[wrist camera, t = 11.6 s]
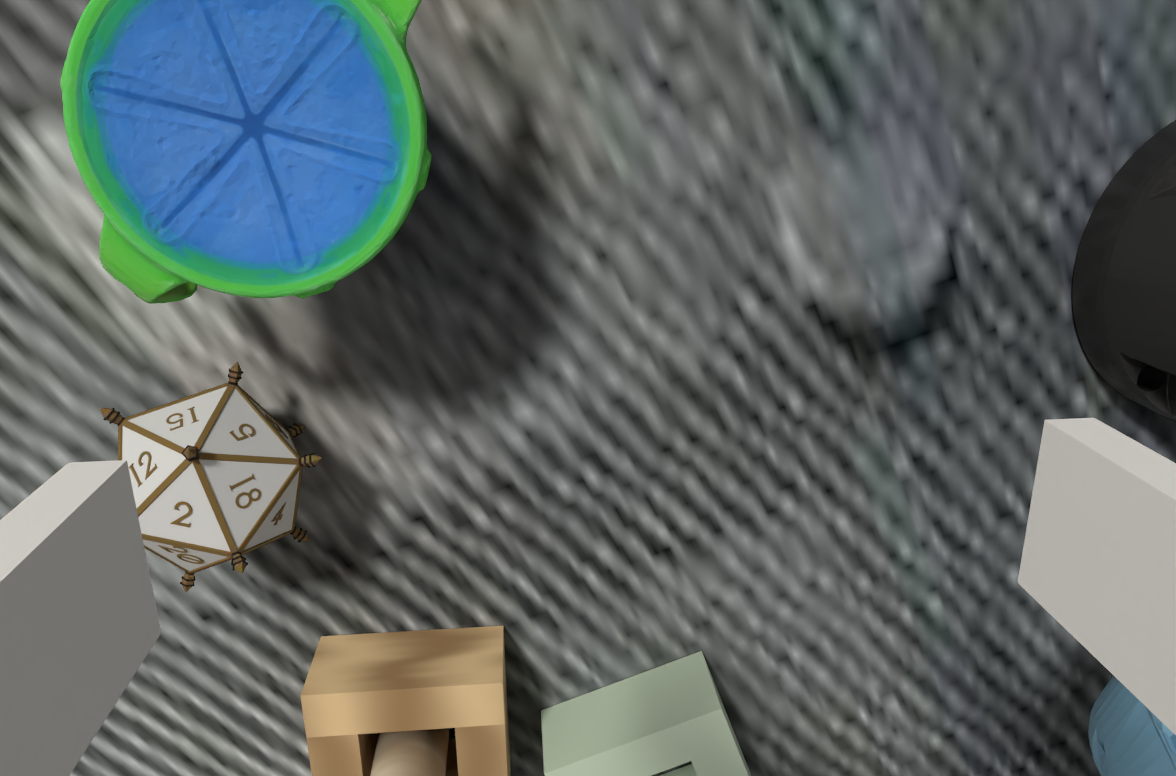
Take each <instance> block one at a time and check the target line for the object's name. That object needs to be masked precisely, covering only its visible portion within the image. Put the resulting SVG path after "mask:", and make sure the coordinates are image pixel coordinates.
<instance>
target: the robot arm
mask: <svg viewBox="0 0 1176 776" xmlns="http://www.w3.org/2000/svg"><path fill="white" fill-rule="evenodd" d="M1072 303H1073V313H1074V319H1075V325H1076V329H1077V332H1078V336H1079V339H1080V342H1081V344H1082V347H1083V349H1084V351H1085V353H1086V355H1087V357H1088V359H1089V360H1090V362H1091V364H1092V365H1093V367H1094V368H1095V370H1096V371H1097V372H1098V373H1099V375H1100V376H1101V377H1102V378H1103V379H1104V380H1105V381H1106V382H1107V383H1108V384H1109V385H1110V386H1111V387H1112V388H1114V389H1115V390H1116V391H1117V392H1119V393H1120V394H1122V395H1123V396H1125V397H1126V398H1128V399H1130V400H1132V401H1134V402H1136V403H1138V404H1140V405H1142V406H1144V407H1146V408H1148V409H1150V410H1152V411H1154V412H1156V413H1158V414H1160V415H1162V416H1165V417H1167V418H1169V419H1172V420H1175V421H1176V120H1175V121H1174V122H1172V123H1170V124H1169V125H1168V126H1166V127H1165V128H1163V129H1162V130H1161V131H1159V132H1158V133H1157V134H1155V135H1154V136H1153V137H1152V138H1151V139H1149V140H1148V141H1147V142H1146V143H1145V144H1144V145H1143V146H1142V147H1141V148H1139V149H1138V150H1137V151H1136V152H1135V153H1134V154H1133V155H1132V157H1131V158H1130V159H1129V160H1128V161H1127V162H1126V163H1125V164H1124V165H1123V167H1122V168H1121V169H1120V170H1119V171H1118V173H1117V174H1116V175H1115V177H1114V178H1113V179H1112V181H1111V182H1110V183H1109V185H1108V187H1107V188H1106V190H1105V191H1104V193H1103V194H1102V196H1101V198H1100V199H1099V201H1098V203H1097V205H1096V206H1095V208H1094V210H1093V212H1092V214H1091V216H1090V219H1089V221H1088V223H1087V226H1086V228H1085V231H1084V233H1083V236H1082V239H1081V242H1080V246H1079V249H1078V253H1077V257H1076V262H1075V267H1074V275H1073V287H1072ZM1018 583H1019V584H1020V585H1021V586H1022V587H1023V588H1024V589H1025V590H1026V591H1027V592H1028V593H1029V594H1030V595H1031V596H1032V597H1033V598H1034V599H1035V600H1036V601H1037V602H1038V603H1039V604H1040V605H1041V606H1042V607H1043V608H1044V609H1045V610H1046V611H1047V612H1049V613H1050V614H1051V615H1052V616H1053V617H1054V618H1055V619H1056V620H1057V621H1058V622H1059V623H1060V624H1061V625H1062V626H1063V627H1064V628H1065V629H1066V630H1067V631H1068V632H1069V633H1070V634H1071V635H1072V636H1073V637H1074V638H1075V639H1076V640H1077V641H1078V642H1080V643H1081V644H1082V645H1083V646H1084V647H1085V648H1086V649H1087V650H1088V651H1089V652H1090V653H1091V654H1092V655H1093V656H1094V657H1095V658H1096V659H1097V660H1098V661H1099V662H1100V663H1101V664H1102V665H1103V666H1104V667H1105V668H1106V669H1107V670H1108V671H1109V672H1111V673H1112V674H1113V676H1112V678H1111V679H1110V681H1109V682H1108V684H1107V685H1106V686H1105V688H1104V689H1103V691H1102V692H1101V694H1100V695H1099V696H1098V698H1097V699H1096V701H1095V703H1094V705H1093V708H1092V710H1091V714H1090V719H1089V732H1088V734H1089V742H1090V747H1091V751H1092V754H1093V759H1094V762H1095V764H1096V766H1097V768H1098V770H1099V772H1100V774H1101V776H1176V463H1174V462H1172V461H1171V460H1169V459H1167V458H1165V457H1163V456H1162V455H1160V454H1158V453H1156V452H1154V451H1153V450H1151V449H1149V448H1147V447H1145V446H1144V445H1142V444H1140V443H1138V442H1137V441H1135V440H1133V439H1131V438H1129V437H1128V436H1126V435H1124V434H1122V433H1120V432H1119V431H1117V430H1115V429H1113V428H1111V427H1110V426H1108V425H1106V424H1104V423H1103V422H1101V421H1099V420H1097V419H1095V418H1077V419H1054V420H1045V422H1044V428H1043V434H1042V440H1041V446H1040V452H1039V458H1038V464H1037V470H1036V475H1035V481H1034V487H1033V493H1032V499H1031V505H1030V511H1029V517H1028V523H1027V529H1026V535H1025V541H1024V547H1023V553H1022V559H1021V565H1020V571H1019V577H1018ZM160 634H161V629H160V624H159V619H158V614H157V609H156V604H155V599H154V594H153V589H152V584H151V579H150V574H149V569H148V564H147V559H146V554H145V549H144V544H143V539H142V534H141V529H140V524H139V519H138V514H137V509H136V504H135V499H134V494H133V489H132V484H131V478H130V473H129V468H128V463H127V460H120V461H97V462H74V463H68V464H66V465H65V466H64V467H63V468H62V469H61V470H59V471H58V472H57V473H56V474H55V475H53V476H52V477H51V478H50V479H49V480H47V481H46V482H45V483H44V484H43V485H42V486H40V487H39V488H38V489H37V490H36V491H34V492H33V493H32V494H31V495H30V496H28V497H27V498H26V499H25V500H24V501H22V502H21V503H20V504H19V505H18V506H17V507H15V508H14V509H13V510H12V511H11V512H9V513H8V514H7V515H6V516H5V517H3V518H2V519H1V520H0V776H69V775H70V774H71V772H72V770H73V769H74V767H75V766H76V764H77V763H78V761H79V760H80V758H81V756H82V755H83V753H84V752H85V750H86V749H87V747H88V746H89V744H90V742H91V741H92V739H93V738H94V736H95V735H96V733H97V732H98V730H99V728H100V727H101V725H102V724H103V722H104V721H105V719H106V718H107V716H108V715H109V713H110V711H111V710H112V708H113V707H114V705H115V704H116V702H117V701H118V699H119V697H120V696H121V694H122V693H123V691H124V690H125V688H126V687H127V685H128V683H129V682H130V680H131V679H132V677H133V676H134V674H135V673H136V671H137V670H138V668H139V666H140V665H141V663H142V662H143V660H144V659H145V657H146V656H147V654H148V652H149V651H150V649H151V648H152V646H153V645H154V643H155V642H156V640H157V638H158V637H159V635H160Z"/></svg>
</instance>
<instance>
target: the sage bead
mask: <svg viewBox="0 0 1176 776" xmlns="http://www.w3.org/2000/svg"><path fill="white" fill-rule="evenodd" d="M541 722H542V742H543V762H544V775H545V776H652V775H654V774H657V773H660V772H662V771H665V770H668V769H671V768H673V767H676V766H679V765H681V764H684V763H687V762H690V761H691V762H692V764H690V765H687V766H684V767H681V768H679V769H676V770H673V771H671V772H668V773H665V774H662V775H660V776H751V773H750V771H749V768H748V766H747V763H746V761H745V758H744V756H743V753H742V751H741V748H740V746H739V743H738V741H737V738H736V736H735V733H734V731H733V728H732V726H731V723H730V721H729V718H728V716H727V713H726V711H725V708H724V706H723V703H722V700H721V698H720V695H719V693H718V690H717V688H716V685H715V683H714V680H713V678H712V675H711V673H710V670H709V668H708V665H707V663H706V660H705V658H704V655H703V653H702V651H700V652H697V653H694V654H692V655H689V656H686V657H684V658H681V659H678V660H675V661H673V662H670V663H667V664H665V665H662V666H659V667H657V668H654V669H651V670H649V671H646V672H643V673H641V674H638V675H635V676H632V677H630V678H627V679H624V680H622V681H619V682H616V683H614V684H611V685H608V686H606V687H603V688H600V689H598V690H595V691H592V692H589V693H587V694H584V695H581V696H579V697H576V698H573V699H571V700H568V701H565V702H563V703H560V704H557V705H555V706H552V707H549V708H546V709H544V710H541Z"/></svg>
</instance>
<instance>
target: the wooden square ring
mask: <svg viewBox="0 0 1176 776" xmlns="http://www.w3.org/2000/svg"><path fill="white" fill-rule="evenodd" d="M301 702H302V709H303V716H304V723H305V730H306V737H307V744H308V751H309V758H310V765H311V773H312V776H370V775H371V770H372V765H373V760H374V755H375V750H376V745H377V740H378V735H379V733H384V732H399V731H414V730H428V729H443V728H455V737H456V738H451V739H449V742H448V752H447V763H446V774H445V776H511V766H510V746H509V727H508V707H507V688H506V668H505V648H504V629H503V626H488V627H472V628H455V629H438V630H421V631H404V632H388V633H371V634H354V635H337V636H321V638H320V641H319V644H318V647H317V650H316V653H315V655H314V658H313V661H312V664H311V667H310V670H309V673H308V676H307V679H306V681H305V684H304V687H303V690H302V693H301Z"/></svg>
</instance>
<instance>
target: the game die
mask: <svg viewBox="0 0 1176 776" xmlns="http://www.w3.org/2000/svg"><path fill="white" fill-rule="evenodd" d="M229 372H230V373H229V374H228V377H229V382H228V383H226V384H223V385H220V386H217V387H214V388H211V389H208V390H205V391H202V392H199V393H196V394H194V395H191V396H188V397H185V398H182V399H179V400H176V401H173V402H170V403H167V404H164V405H161V406H159V407H156V408H153V409H150V410H147V411H144V412H141V413H138V414H135V415H132V416H129V417H126V418H123V417H122V416H121V415H120V412H119V411H118V412H117V411H115V410H114V409H115V408H113V409H109V408H100V410H101V412H102V414H103V416H104V420H108V421H110V422H109V423H110V424H111V423H115V424H117V425H118V461H120V460H127V463H128V468H129V473H130V478H131V484H132V489H133V494H134V499H135V504H136V509H137V514H138V519H139V524H140V529H141V534H142V539H143V544H144V548H146V549H147V550H149V551H151V552H153V553H154V554H156V555H158V556H160V557H161V558H163V559H165V560H167V561H168V562H170V563H172V564H174V565H175V566H177V567H179V568H181V569H183V570H184V571H185V575H184V576H183V577H182V582H180V584H182V586H183V588H184V590H185V592H187V591H188V590H189V589H190V588H191V587H192V586H194V581H195V576H194V573H196V572H198V571H201V570H204V569H207V568H209V567H212V566H215V565H218V564H220V563H223V562H226V561H229V560H231V559H232V563H231V564H232V565H233V570H236V571H238V572H240V573H243V571H244V569H245V567H246V566H247V565H248V563H247V562H245V560H246V558H244V557H243V556H242V555H244V554H246V553H248V552H251V551H253V550H255V549H257V548H259V547H262V546H264V545H266V544H268V543H271V542H273V541H275V540H277V539H280V538H282V537H284V536H286V535H288V534H292V535H293V537H294V539H297V540H298V542H301V541H309V539H308V536H307V533H306V532H307V531H303V530H302V528H300V529H298V528H296V527H295V522H296V515H297V507H298V500H299V492H300V485H301V477H302V470H303V466H307V467H308V468H309V467H310V466H313V467H315V466H316V464H317V463H318V462H319V461H320V460H321V459H322V458H321V457H319V456H317V455H315V453H312V454H308V455H305V456H304V457H303V458H302V457H301V456H300V454H299V451H298V449H297V447H296V445H295V443H294V441H293V439H292V437H295V436H297V435H299V434H301V433H303V432H302V430H303V428H304V425H297V424H295V423H294V424H293V426H290V428H289V430H286V429H285V428H284V427H283V426H282V425H281V424H280V423H279V422H278V421H277V420H275V419H274V418H273V417H272V416H271V415H270V414H269V413H268V412H267V411H266V410H265V409H263V408H262V407H261V406H260V405H259V404H258V403H257V402H256V401H255V400H254V399H253V398H252V397H250V396H249V395H248V394H247V393H246V392H245V391H244V390H243V389H242V388H241V387H240V386H238V381H239V380H240V379H241V378H242V377H241V374H242V373H243V372H242V371H241V368H240V366H239V364H238V362H237V363H236V364H235V365H234V366H233V367H232V368H231V369H229Z"/></svg>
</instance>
